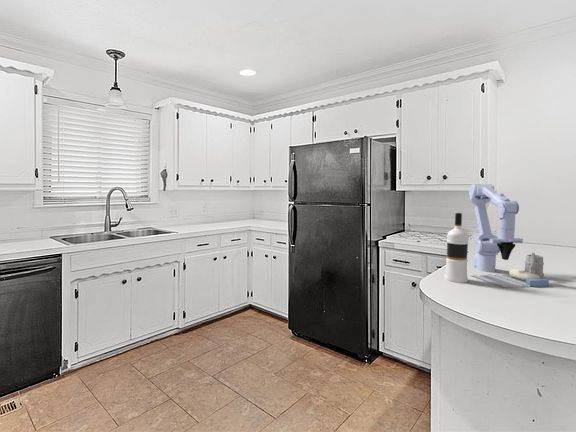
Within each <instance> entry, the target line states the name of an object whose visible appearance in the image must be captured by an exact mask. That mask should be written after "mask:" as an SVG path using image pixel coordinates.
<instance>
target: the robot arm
mask: <svg viewBox="0 0 576 432" xmlns="http://www.w3.org/2000/svg"><path fill="white" fill-rule="evenodd" d="M468 195H469V199H470V202H471V203H472V204H473V209H474V214H475V218H476V222H477V227H478V233H479V235H477V236H476V238H475V239H474V249H475V252H476V253H475V255H474V256H473V257H474V258H473V270H474V269H476V270H478V271H480V272H485V273H495V272H496V261H497V255H498V254H499V253H500V256H501V259H502V260H505V261H509V260H510V256H511V253H512V252H513V250H514V248H515V247H516V244H523V243H524V239H523V238H520V237H519V238H518V237H517V238H516V237H515V229H516V226H515V225H516V215H518V212H519V211H520V205H519V203H518V202H517V200H510V199H509V198H508V197H507V196H505V194H504V193H501V192H500V193H499V192H497V191H495V185H493V184H492V183H489V184H485V183H483V184H481V183H480V184H477V183H473V184H471V185H470V187H469V190H468ZM490 202H491V204H492V205H494V206H495V207H496V209H497V213H498V219H499V223H498V224H499V226H498V236H497V235H494V234H493V232H492V228H491V224H490V220H489V215H488V211H487V207H486V204H488V203H490Z"/></svg>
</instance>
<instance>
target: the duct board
mask: <svg viewBox="0 0 576 432" xmlns="http://www.w3.org/2000/svg"><path fill="white" fill-rule="evenodd" d="M471 277H472V278H475V279H477V280H480V281H483V282H486V283H488V284H491V285H493V286H495V287H499V288H501V289H518V288H521V289H522V288H523V289H524V288H543V287H544V288H547V287H549V288H550V287H553V285H549V284H550V283H549V282H550V279H546V278H542V279H541V278H540V279H526V281H523V280H520V279H517V278H514V277H511V276H510V274H500V273H496V274H491V273H488V274H483V275H478V274H473V275H471Z"/></svg>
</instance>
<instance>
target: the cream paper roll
mask: <svg viewBox="0 0 576 432" xmlns="http://www.w3.org/2000/svg"><path fill="white" fill-rule="evenodd" d="M508 273H509V274H508V275H510V276H511V277H514V278H517V279H520V280H523V281H526V279H541V278H540V277H539V275H536V274H533V273H529V272H526V271H525V270H523V269H522V270H521V269H518V268H515V267H512V268H510V270H509V272H508Z"/></svg>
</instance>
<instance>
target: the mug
mask: <svg viewBox="0 0 576 432" xmlns="http://www.w3.org/2000/svg"><path fill="white" fill-rule="evenodd" d="M524 264H525V265H524V271H526V272H529V273H533V274H536V275H539V277H540V279H544V278H543V277H544V276H545V273H544V265H545V263H544V256H542V255H539V254H538V255H537V254H536V253H535V252H531V254H526V256H525V261H524Z"/></svg>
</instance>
